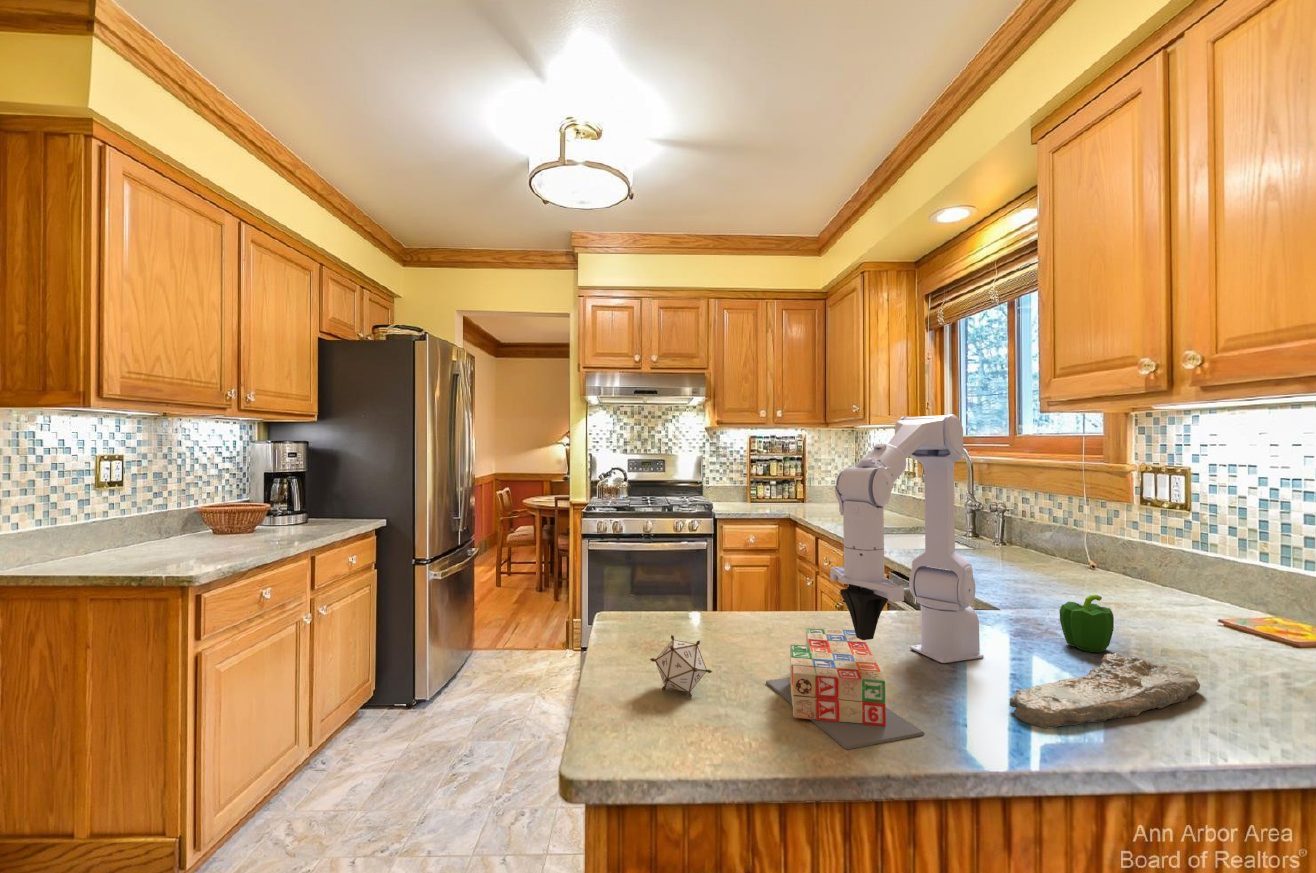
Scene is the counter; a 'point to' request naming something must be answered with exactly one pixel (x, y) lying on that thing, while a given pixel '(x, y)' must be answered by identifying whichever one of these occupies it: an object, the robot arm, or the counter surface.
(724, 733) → the counter surface
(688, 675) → the game die
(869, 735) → the mat
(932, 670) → the counter surface
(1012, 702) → the long grey stone
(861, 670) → the stack of blocks
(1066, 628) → the bell pepper
